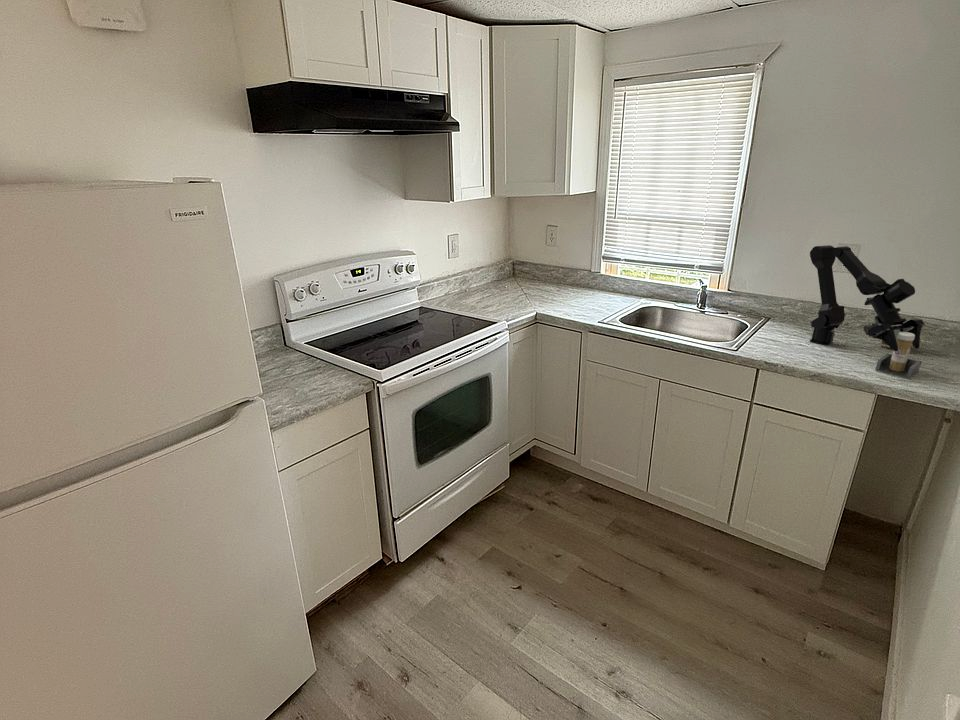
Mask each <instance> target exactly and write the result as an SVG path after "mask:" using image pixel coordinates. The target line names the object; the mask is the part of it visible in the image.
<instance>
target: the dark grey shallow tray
mask: <svg viewBox="0 0 960 720" xmlns="http://www.w3.org/2000/svg"><path fill="white" fill-rule="evenodd" d="M892 354H893V353H892ZM892 354H891V353H886V354H884V355H883V356H882V357H880V358H879V359H877V362H876V366H875V369H874V371H875V370H876V371H875V372H879V371H880V372H879V373H882V374H883V373H884V374H887V375H890V376H891V375H892V376H896V377H898V376H899V378H902V377H903V378H904V379H906V378H907V380H911V379H912V378H914V376H916V375H917V374H918V373H919V372H920V368H921V365H922V363H923V361H922V360H918V359H913V358H910V357H908V359H907V362H906V365H905V370H904V371H901V372H900V371H893V370H891V369H889V366H890V362H891V358H892ZM917 372H918V373H917ZM916 373H917V374H916ZM910 378H911V379H910Z"/></svg>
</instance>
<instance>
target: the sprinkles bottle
mask: <svg viewBox="0 0 960 720" xmlns="http://www.w3.org/2000/svg"><path fill="white" fill-rule="evenodd" d="M914 338H915V335H914V334H913V333H909V332H899V333H898V336H897V345H898V351H894V350H892V351H893V352H892V358H891V362H890V366H889V369H891V370H893V371H900V372H901V371H904V370H905V365H906V362H907V359H908V358H909V356H910V353H911V348H912V346H913V345H912V342H913V340H914Z"/></svg>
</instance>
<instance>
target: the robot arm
mask: <svg viewBox="0 0 960 720" xmlns="http://www.w3.org/2000/svg"><path fill="white" fill-rule="evenodd" d="M809 256H810V260H811V264H812V265H813V266H814V267H815V269H816V270H817V271H816V272H817V277H818V278H817V279H818V285H819V293H820V299H821V301H820V302H821V305H820V308H819V310H818V317H816V318H814V319H813V320H811V321H810V325H811V326H810V327H811V328H813V331H812V336H811V339H809V342H811V343H815V344H819V345H823V346H828V345H830V344H832V343H833V342H834V339H835V338H834V337H835V335H836V333H835V329H838V328H839V327H840V325H842V324H843V322H845V317H846V316H847V315H846V313H845V307H844V305H839V304H838V302H837V293H836V288H835V280H834V272H833V266H834V263H835V261H836V258H837V259H838V261H839V262H840V263H841V264H842V265H843V267H845V269H846V270H847V271H848V272H849V273H850V274H851V276H852V277H853V278H854V279H855V284H856V285H855V286H856V287H857V289H858V290H859V293H860V294H862V295H864V296H871V295H872V297H867V298H866V299H865V302H864V303H863V304H864V306H870V305H871V306H872V308H873V310H874V312H875V314H876V316H874V321H875V322H874V323H872V324H864V326H863V327H862V328H863V331H864V333H865V335H866V336H868V337H869V338H873V339H877V340H881V342H882V341H884V342H885V343H886V344H887V345H888V346H889V347H890V348H892V349H893V350H892V351H898V345H897V341H896V337H895V333H894V330H900V331H901V332H909V333H913V334H914V335H915V338H914V340H913V342H912V345H911V346H913V348H914V349H916V350H917V349H919V348H920V345H921V344H920V343H921V332H922V328H923V326H924V325H926V324H925V322H924V321H923V319H920V318H911V319H908V320H907V318H905V317H904V318H902V316H901V315H900V313H899V312H901V311H902V310H901V308H900V307H898V308H897V307H896V306H895V304H899V303H901V302H903V301H905V300H907V299H908V298H910V297H912V296H913V295H915V293H916V289H915V286H914V285H912V284H911V283H910V282H908V281H906V280H905V278H898V279H896V280H895V281H894V282H893V283H891V284H890V283H888V282H886V280H885V279H884V278H883V277H881V276H880V275H878V274H876V273H874V272H871V271H870V269H869V268H867V266H866V265H865V264H864V263H863V262H862V261H861V260H860V259H859V258H858V256H856V255H855V253H854V252H853V251H852V249H851V247H849V246H847V245H846V246H836V247H834V246H832V245H830V244H829V245H828V244H827V245H826V244H825V245H816V246H814V247H812V248H811V250H810V252H809Z"/></svg>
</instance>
